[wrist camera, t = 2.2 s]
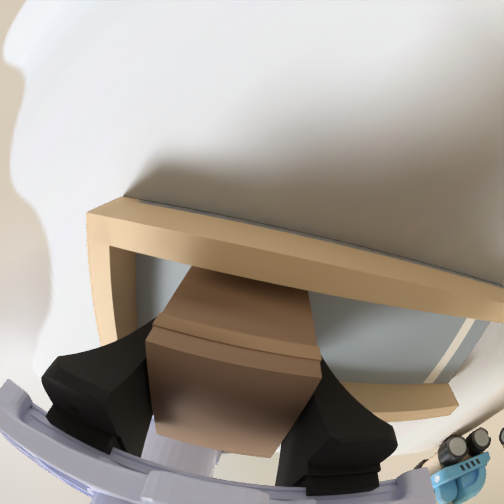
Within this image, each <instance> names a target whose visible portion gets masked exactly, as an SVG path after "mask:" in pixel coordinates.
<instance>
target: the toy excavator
mask: <svg viewBox="0 0 504 504" xmlns="http://www.w3.org/2000/svg"><path fill="white" fill-rule="evenodd" d="M454 436H455V435H452V436H451V437H449V438H448V439H447V440H446V441H445V442H444V443H443V444H442V445H441V446H440V448H439V450H438V452H437V453H436V454H435V455H434V456H432V457H431V458H430V459H427V460H423V461H422V462H420V463H419V464H418V465H417V466H416V467H415V468H414V470H415V469H419V468H424V467H428V470H429V474H430V478H431V482H432V486H433V490H434V494H435V499H436V504H461V503H463V502H465V501H467V500H469V499H471V498H472V497H474V496H476V495H477V494H478V493H479V491H480V490H481V489H482V487H483V485H484V483H485V478H486V469H485V466H486V465H487V462H488V461H489V460H490V456H489V453H488V452H484V453H483V451H485V449H487V448H488V447H489V445H490V442H491V438H490V437H489V436H488V432H487V431H486V430H485V429H484V428H481V427H480V428H479V429H477V430H475V431H473V432H472V433H471V434H470V435H469V436H468V437H467V438H466V439H464V438H463V437H461V436H460V435H459V437H454Z"/></svg>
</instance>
